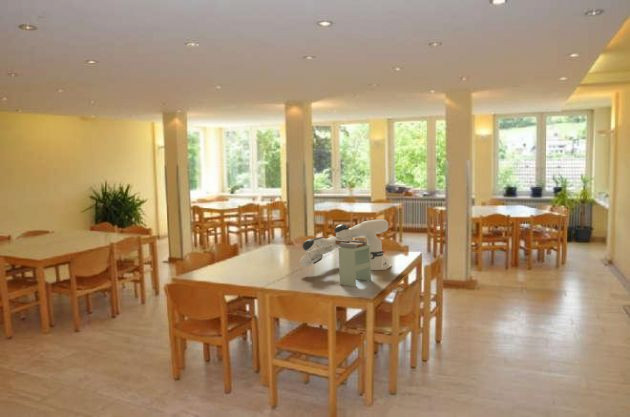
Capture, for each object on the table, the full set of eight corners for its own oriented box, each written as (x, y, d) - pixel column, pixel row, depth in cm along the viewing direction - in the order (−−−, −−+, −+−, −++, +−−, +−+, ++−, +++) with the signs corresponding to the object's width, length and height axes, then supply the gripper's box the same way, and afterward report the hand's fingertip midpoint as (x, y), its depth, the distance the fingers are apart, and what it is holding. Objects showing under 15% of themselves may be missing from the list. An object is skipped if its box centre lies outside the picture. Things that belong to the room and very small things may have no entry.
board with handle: (341, 243, 372) (340, 239, 372) (364, 245, 359) (363, 241, 359) (332, 245, 365) (332, 241, 365) (355, 247, 351) (355, 243, 351)
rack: (356, 278, 374) (355, 235, 371) (371, 280, 365) (369, 237, 362) (339, 284, 359) (338, 239, 356) (354, 286, 350) (353, 241, 347)
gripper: (326, 256, 390) (338, 248, 381) (308, 260, 374) (320, 252, 366) (323, 248, 391) (334, 240, 383) (305, 252, 376) (317, 244, 367)
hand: (327, 246), depth 374 cm, fingers open, 8 cm apart
